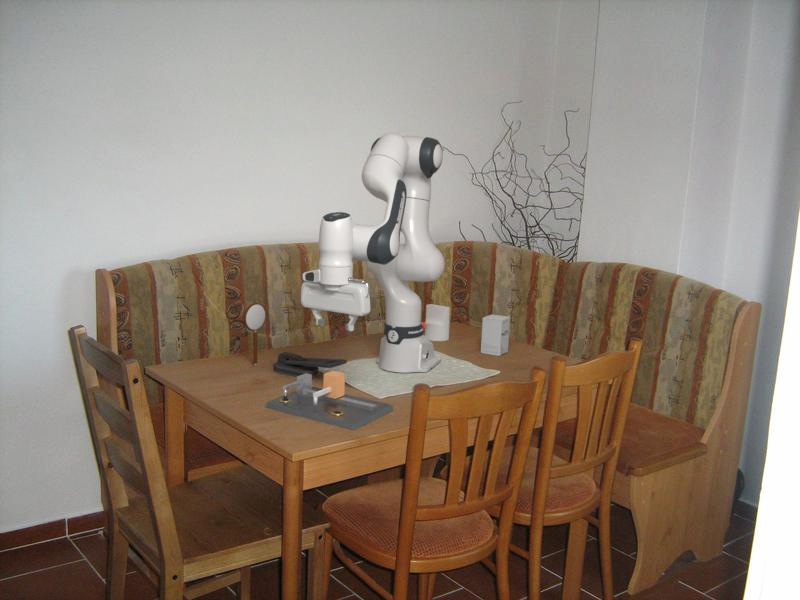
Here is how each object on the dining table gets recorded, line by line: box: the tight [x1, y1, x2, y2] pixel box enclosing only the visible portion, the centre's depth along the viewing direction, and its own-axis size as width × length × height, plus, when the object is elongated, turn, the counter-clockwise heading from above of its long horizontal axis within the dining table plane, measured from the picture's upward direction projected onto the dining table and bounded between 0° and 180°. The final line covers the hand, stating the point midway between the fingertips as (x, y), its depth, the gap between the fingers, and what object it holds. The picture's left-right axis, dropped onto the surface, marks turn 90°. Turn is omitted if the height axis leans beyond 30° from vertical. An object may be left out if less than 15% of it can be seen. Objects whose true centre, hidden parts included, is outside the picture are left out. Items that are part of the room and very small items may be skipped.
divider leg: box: [313, 370, 346, 406], centre depth 204 cm, size 10×4×6 cm, turn 148°
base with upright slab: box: [424, 303, 451, 342], centre depth 285 cm, size 9×9×12 cm
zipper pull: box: [272, 351, 348, 379], centre depth 234 cm, size 9×7×25 cm
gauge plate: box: [266, 373, 394, 431], centre depth 204 cm, size 18×28×6 cm, turn 58°
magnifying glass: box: [243, 302, 267, 367], centre depth 241 cm, size 9×2×20 cm, turn 141°
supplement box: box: [480, 314, 511, 357], centre depth 266 cm, size 7×7×13 cm
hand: (334, 328), depth 204 cm, fingers open, 8 cm apart
